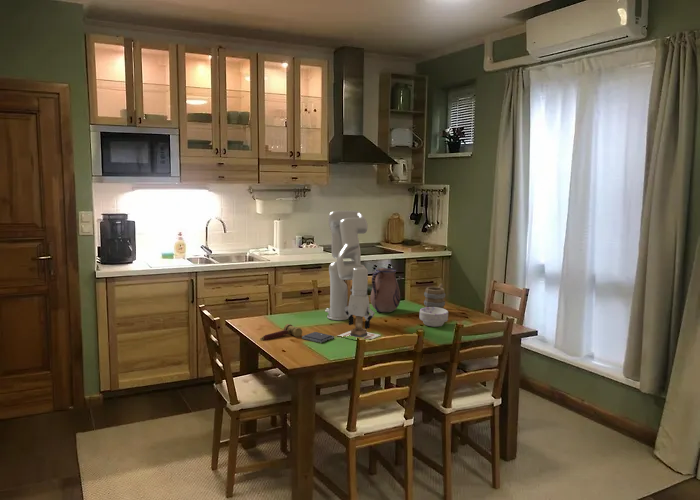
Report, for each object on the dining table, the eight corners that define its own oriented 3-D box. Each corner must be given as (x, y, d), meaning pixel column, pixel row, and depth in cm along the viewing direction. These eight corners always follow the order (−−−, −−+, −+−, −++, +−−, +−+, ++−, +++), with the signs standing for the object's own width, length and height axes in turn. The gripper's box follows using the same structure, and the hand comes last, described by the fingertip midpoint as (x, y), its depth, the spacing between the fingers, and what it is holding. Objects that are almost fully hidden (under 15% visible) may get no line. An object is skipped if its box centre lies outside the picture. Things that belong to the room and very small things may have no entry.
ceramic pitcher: (404, 309, 335) (406, 268, 331) (388, 317, 317) (390, 273, 313) (378, 305, 344) (379, 265, 340) (361, 313, 326) (362, 270, 322)
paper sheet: (336, 336, 279) (336, 335, 279) (354, 329, 291) (354, 329, 291) (363, 342, 270) (363, 341, 270) (380, 335, 282) (380, 334, 282)
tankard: (440, 315, 323) (441, 289, 321) (419, 312, 329) (420, 287, 327) (452, 308, 340) (453, 284, 338) (432, 305, 347) (433, 281, 344)
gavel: (265, 337, 266) (254, 332, 274) (265, 346, 267) (255, 341, 274) (302, 327, 279) (291, 322, 286) (302, 336, 280) (291, 331, 287)
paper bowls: (441, 330, 294) (441, 315, 293) (414, 325, 302) (414, 310, 300) (452, 323, 306) (452, 309, 305) (426, 319, 314) (426, 305, 313)
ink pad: (301, 338, 274) (301, 335, 274) (314, 334, 282) (315, 331, 282) (321, 343, 267) (321, 340, 267) (334, 338, 275) (334, 335, 275)
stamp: (350, 335, 280) (350, 315, 278) (357, 332, 284) (357, 313, 283) (360, 337, 276) (360, 317, 275) (367, 335, 281) (367, 315, 280)
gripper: (340, 291, 279) (340, 325, 281) (370, 296, 269) (369, 331, 272) (349, 288, 285) (349, 321, 288) (378, 293, 275) (377, 327, 278)
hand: (359, 326), depth 280 cm, fingers open, 9 cm apart
